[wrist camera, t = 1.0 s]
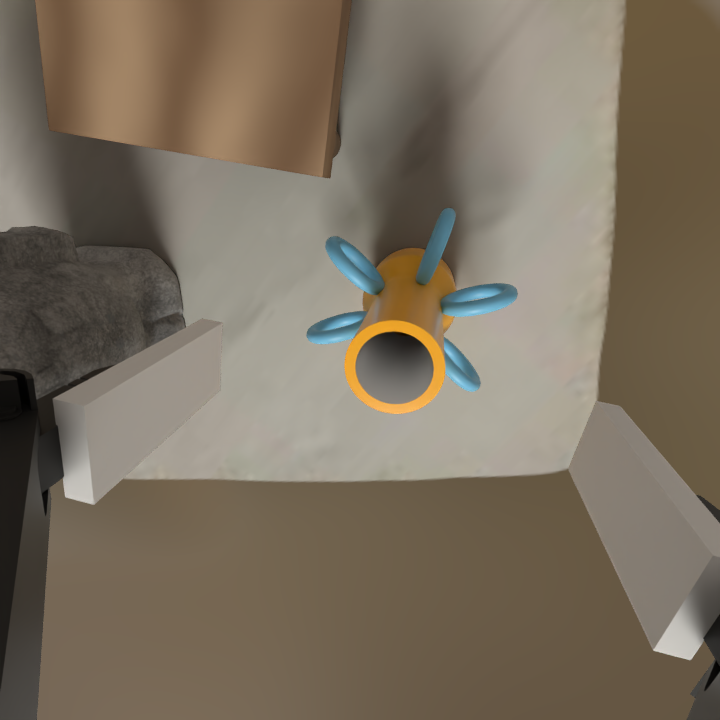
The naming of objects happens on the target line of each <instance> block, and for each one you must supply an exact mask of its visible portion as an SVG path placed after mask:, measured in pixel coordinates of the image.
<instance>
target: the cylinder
mask: <svg viewBox="0 0 720 720" xmlns="http://www.w3.org/2000/svg"><path fill="white" fill-rule="evenodd" d="M455 218H456V214H455V211H454V210H453V209H452V208H445V209H444V210H443V211H442V212H441V214H440V216H439V218H438V220H437V223H436V225H435V227H434V230H433V232H432V235H431V237H430V240H429V242H428V245H427V247H426V250H425V249H421V248H406V249H401V250H398V251H396V252H394V253H392V254H390V255H389V256H387V257H386V258H385V259H384V260H383V261H382V262H381V263H380V264H379V265H378V266H377V268H375V267H374V266H373V265H372V263H371V262H370V261H369V260H368V259H367V258H366V257H365V256H364V255H363V254H362V253H361V252H360V251H359V250H357V249H356V248H355V247H354V246H353V245H351V244H350V243H348V242H347V241H345V240H344V239H342V238H340V237H336V236H333V237H330V238H329V239H328V240H327V241H326V245H325V246H326V251H327V253H328V255H329V257H330V259H331V260H332V261H333V263H334V264H335V265H336V267H337V268H338V269H339V270H340V271H341V272H342V273H343V274H344V275H345V276H346V277H347V278H348V279H349V280H350V281H351V282H352V283H354V284H355V285H356V286H357V287H359V288H360V289H362V290H363V291H364V293H363V310H364V311H357V312H350V313H344V314H340V315H336V316H333V317H330V318H327V319H324V320H322V321H320V322H318V323H316V324H314V325H313V326H311V327H310V328H309V329H308V331H307V338H308V340H309V341H310V342H312V343H315V344H330V343H336V342H341V341H345V340H348V339H351V338H353V340H352V342H351V344H350V345H349V347H348V350H347V353H346V357H345V374H346V378H347V381H348V384H349V386H350V388H351V389H352V391H353V392H354V394H355V395H356V396H357V397H358V398H359V399H360V400H361V401H362V402H364V403H365V404H366V405H368V406H370V407H371V408H373V409H376V410H378V411H381V412H385V413H391V414H402V413H408V412H412V411H415V410H418V409H420V408H422V407H423V406H425V405H426V404H428V403H429V402H430V401H431V400H432V399H433V398H434V397H435V396H436V395H437V393H438V392H439V390H440V388H441V386H442V384H443V381H444V377H445V374H446V375H447V376H448V377H449V378H450V379H451V380H452V381H454V382H455V383H456V384H457V385H458V386H460V387H461V388H463V389H465V390H467V391H471V392H473V391H476V390H478V389H479V387H480V379H479V376H478V374H477V372H476V371H475V369H474V368H473V366H472V365H471V363H470V362H469V361H468V360H467V358H466V357H465V356H464V355H463V354H462V353H461V351H460V350H459V349H458V348H457V347H456V346H455V345H454V344H452V343H451V342H450V341H449V340H448V339H446V338H445V337H444V335H443V334H444V333H445V332H446V331H447V330H448V328H449V327H450V325H451V324H452V322H453V320H454V317H455V316H456V317H463V316H474V315H480V314H485V313H489V312H493V311H496V310H499V309H502V308H504V307H506V306H508V305H510V304H511V303H513V302H514V301H515V300H516V298H517V295H518V292H517V289H516V288H515V287H514V286H512V285H509V284H503V283H494V284H484V285H478V286H473V287H468V288H465V289H461V290H458V291H456V286H455V282H454V278H453V275H452V273H451V271H450V269H449V267H448V266H447V264H446V263H445V262H444V261H443V260H442V259H441V257H442V254H443V252H444V249H445V247H446V244H447V242H448V239H449V236H450V234H451V231H452V228H453V225H454V222H455ZM353 263H354V264H355V265H356V266H357V267H356V266H355V265H354V264H353ZM486 297H488V298H486ZM479 298H484V299H479ZM474 299H479V300H474ZM470 300H474V301H470ZM466 301H467V302H466ZM346 325H347V326H346ZM342 326H344V327H342ZM339 327H340V328H339ZM335 328H336V329H335Z"/></svg>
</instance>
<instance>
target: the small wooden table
mask: <svg viewBox="0 0 720 720" xmlns="http://www.w3.org/2000/svg"><path fill="white" fill-rule="evenodd" d="M351 3H352V0H35V4H36V13H37V22H38V32H39V41H40V51H41V60H42V69H43V79H44V88H45V98H46V107H47V116H48V126H49V130H50V131H56V132H62V133H68V134H73V135H79V136H85V137H91V138H97V139H102V140H108V141H114V142H120V143H126V144H132V145H137V146H143V147H149V148H155V149H161V150H167V151H172V152H178V153H184V154H190V155H196V156H201V157H207V158H213V159H219V160H225V161H231V162H236V163H242V164H248V165H254V166H260V167H266V168H271V169H277V170H283V171H289V172H295V173H300V174H306V175H312V176H318V177H324V178H330V177H331V169H332V160H333V158H334V157H335V156H336V155H337V154H338V152H339V150H340V146H341V141H340V137H339V134H338V133H337V131H336V127H337V119H338V111H339V102H340V94H341V86H342V78H343V69H344V61H345V53H346V44H347V36H348V28H349V20H350V11H351Z"/></svg>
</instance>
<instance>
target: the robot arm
mask: <svg viewBox="0 0 720 720" xmlns="http://www.w3.org/2000/svg"><path fill="white" fill-rule="evenodd" d="M222 326H223V323H222V322H217V321H212V320H207V319H201V320H199V321H197V322H195V323H193V324H192V325H190V326H188V327H186V328H184V329H182V330H180V331H178V332H177V333H175V334H173V335H171V336H169V337H167V338H165V339H163V340H162V341H160V342H158V343H156V344H154V345H152V346H150V347H148V348H147V349H145V350H143V351H141V352H139V353H137V354H135V355H133V356H132V357H130V358H128V359H126V360H124V361H122V362H120V363H118V364H117V365H111V366H107V367H104V368H100V369H96V370H93V371H91V372H90V373H88V374H86V375H84V376H82V377H80V379H76V380H74V381H72V382H70V383H68V385H64V386H62V387H60V388H58V389H57V390H55V391H53V392H51V393H49V394H47V395H45V396H43V397H41V398H39V399H36V392H35V385H34V379H33V376H32V374H31V373H29V372H27V371H25V370H19V369H0V720H37V707H38V692H39V676H40V662H41V647H42V632H43V617H44V600H45V585H46V571H47V556H48V541H49V540H48V539H49V525H50V510H51V494H50V487H51V486H52V485H54V484H55V483H56V482H58V481H59V480H60V479H62V478H63V482H64V490H65V497H67V498H70V499H74V500H78V501H82V502H86V503H90V504H93V505H94V504H95V503H96V502H97V501H98V500H100V498H102V497H103V496H104V495H105V494H106V493H107V492H108V491H110V490H111V489H112V488H113V487H114V486H115V485H116V484H117V483H118V482H120V480H122V479H123V478H124V477H125V476H126V475H127V474H128V473H129V472H131V471H132V470H133V469H134V468H135V467H136V466H137V465H138V464H139V463H140V462H142V461H143V460H144V459H145V458H146V457H147V456H148V455H149V454H150V453H152V452H153V451H154V450H155V449H156V448H157V447H158V446H159V445H160V444H161V443H163V442H164V441H165V440H166V439H167V438H168V437H169V436H170V435H171V434H173V433H174V432H175V431H176V430H177V429H178V428H179V427H180V426H181V425H182V424H184V423H185V422H186V421H187V420H188V419H189V418H190V417H191V416H192V415H194V414H195V413H196V412H197V411H198V410H199V409H200V408H201V407H202V406H203V405H205V404H206V403H207V402H208V401H209V400H210V399H211V398H212V397H213V396H214V395H216V394H217V393H218V392H219V391H220V381H221V353H222ZM568 470H569V472H570V474H571V476H572V478H573V481H574V483H575V485H576V487H577V489H578V491H579V493H580V495H581V497H582V500H583V502H584V504H585V506H586V508H587V510H588V513H589V515H590V517H591V519H592V521H593V523H594V525H595V527H596V530H597V532H598V534H599V536H600V538H601V540H602V542H603V544H604V547H605V549H606V551H607V553H608V555H609V557H610V559H611V562H612V564H613V566H614V568H615V570H616V572H617V574H618V576H619V579H620V581H621V583H622V585H623V587H624V589H625V591H626V593H627V595H628V598H629V600H630V602H631V604H632V606H633V608H634V611H635V613H636V615H637V617H638V619H639V621H640V623H641V626H642V627H643V630H644V632H645V634H646V636H647V638H648V640H649V643H650V645H651V647H652V649H653V651H657V652H661V653H665V654H669V655H673V656H676V657H680V658H684V659H688V660H691V659H692V657H693V656H694V655H695V653H696V652H697V650H698V649H699V647H700V646H701V644H702V643H703V641H705V642H706V644H707V646H708V647H709V649H710V651H711V652H712V654H713V656H714V657H715V660H714V662H713V663H712V665H711V666H710V667H709V668H708V670H707V671H706V673H705V674H704V675H703V677H702V678H701V680H700V681H699V682H698V684H697V685H696V687H695V688H694V689H693V691H692V692H691V695H692V696H694V697H695V701H694V703H693V706H692V708H691V711H690V713H689V716H688V718H687V720H720V510H718V509H717V508H716V507H715V506H713V505H712V504H711V503H709V502H708V501H707V500H705V499H704V498H703V497H701V496H698V495H695V494H694V492H693V491H692V490H691V489H690V488H689V487H688V485H687V484H686V483H685V482H684V481H683V480H682V478H681V477H680V476H679V475H678V474H677V473H676V471H675V470H674V469H673V468H672V467H671V466H670V464H669V463H668V462H667V461H666V460H665V458H664V457H663V456H662V455H661V454H660V452H659V451H658V450H657V449H656V448H655V447H654V445H653V444H652V443H651V442H650V441H649V440H648V438H647V437H646V436H645V435H644V434H643V433H642V431H641V430H640V429H639V428H638V427H637V426H636V424H635V423H634V422H633V421H632V420H631V418H630V417H629V416H628V415H627V414H626V413H625V412H624V410H623V409H622V408H621V407H620V406H617V405H612V404H608V403H603V402H598V401H596V403H595V405H594V408H593V410H592V412H591V415H590V417H589V420H588V422H587V424H586V427H585V429H584V432H583V434H582V437H581V439H580V441H579V444H578V446H577V449H576V451H575V453H574V456H573V458H572V461H571V463H570V465H569V468H568Z"/></svg>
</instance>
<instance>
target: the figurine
mask: <svg viewBox="0 0 720 720" xmlns="http://www.w3.org/2000/svg"><path fill="white" fill-rule="evenodd" d="M182 312H183V308H182V301H181V294H180V287H179V283H178V280H177V277H176V275H175V274H174V273H173V271H172V270H171V269H170V268H169V266H168V265H167V264H166V263H165V262H164V261H163V260H162V259H161V258H160V257H158V256H157V255H156V254H155V253H153V252H152V251H151V250H150V249H141V248H131V247H110V246H81V247H75V243H74V240H73V237H71V236H69V235H67V234H66V233H63V232H60V231H57V230H52V229H48V228H43V227H37V226H30V227H12V228H11V229H9V230H8V231H7V232H0V369H19V370H25V371H27V372H29V373H31V374H32V376H33V379H34V385H35V392H36V399H39V398H41V397H43V396H45V395H47V394H49V393H51V392H53V391H55V390H57V389H58V388H60V387H62V386H64V385H68V383H70V382H72V381H74V380H76V379H80V377H82V376H84V375H86V374H88V373H90V372H91V371H93V370H96V369H100V368H104V367H107V366H111V365H117V364H118V363H120V362H122V361H124V360H126V359H128V358H130V357H132V356H133V355H135V354H137V353H139V352H141V351H143V350H145V349H147V348H148V347H150V346H152V345H154V344H156V343H158V342H160V341H162V340H163V339H165V338H167V337H169V336H171V335H173V334H175V333H177V332H178V331H180V330H182V329H184V328H185V324H184V320H183V317H182Z"/></svg>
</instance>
